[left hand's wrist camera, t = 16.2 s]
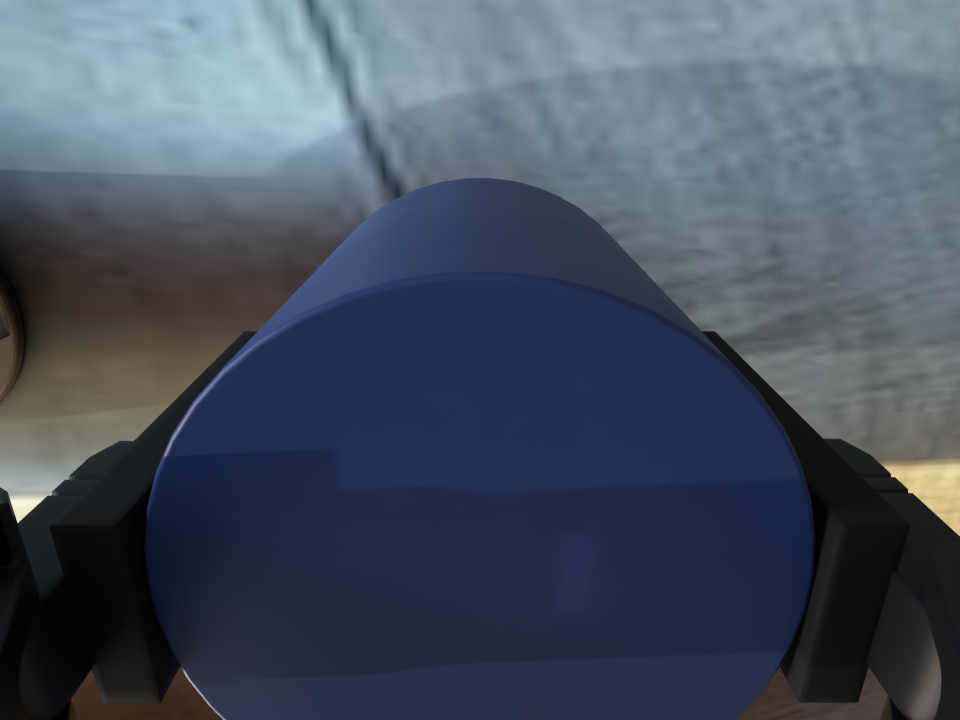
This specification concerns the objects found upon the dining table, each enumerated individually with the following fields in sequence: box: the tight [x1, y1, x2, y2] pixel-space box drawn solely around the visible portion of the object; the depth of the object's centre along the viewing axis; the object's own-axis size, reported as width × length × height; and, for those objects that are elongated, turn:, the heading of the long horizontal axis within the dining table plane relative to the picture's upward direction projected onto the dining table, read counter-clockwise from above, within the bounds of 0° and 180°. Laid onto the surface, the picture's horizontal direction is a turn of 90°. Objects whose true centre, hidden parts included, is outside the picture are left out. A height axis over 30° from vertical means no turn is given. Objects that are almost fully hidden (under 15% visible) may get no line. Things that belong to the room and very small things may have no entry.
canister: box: [144, 178, 816, 720], centre depth 12 cm, size 8×8×8 cm
